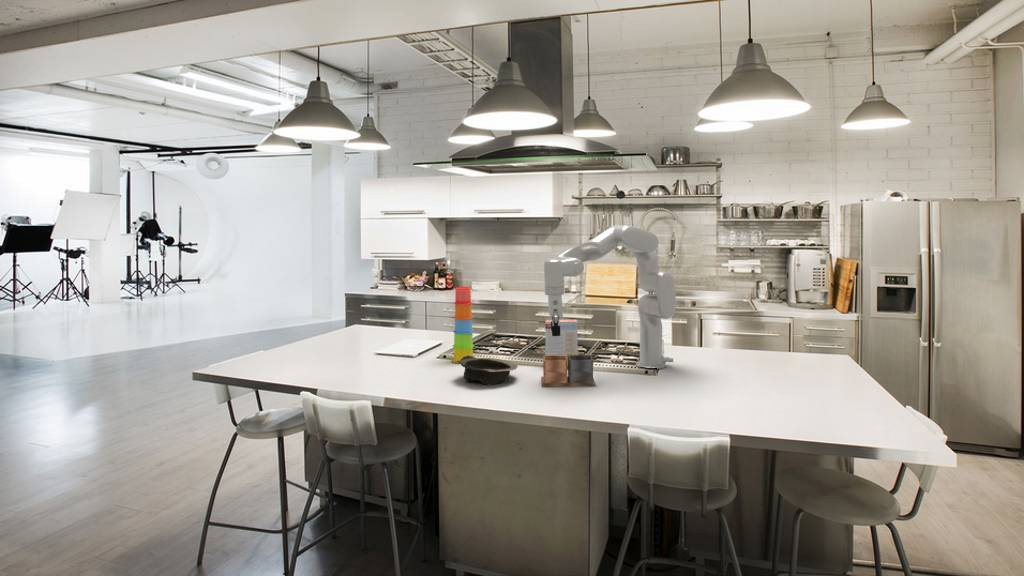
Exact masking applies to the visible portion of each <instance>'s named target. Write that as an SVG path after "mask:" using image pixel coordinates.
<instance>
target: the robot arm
mask: <svg viewBox="0 0 1024 576" xmlns="http://www.w3.org/2000/svg"><path fill="white" fill-rule="evenodd" d="M659 244H660V243H659V238H658V236H657V235H656V234H655V233H654V232H651V231H648V230H645V229H642V228H639V227H637V226H633V225H629V224H626V225H625V224H617V225H612V226H609V227H608V228H607V229H605V230H604V231H602V232H600V233H599V234H597V235H596V236H594V237H593V238H591V239H590V240H588V241H585V242H583V243H581V244H578V245H576V246H574V247H572V248H568V250H566V251H565V252H563V253H561V254H560V255H558V256H557V257H556V258H549V259H546V260H544V262H543V273H544V295H545V296H547V300H548V301H547V302H548V314H549V320H551V331H552V336H560V323H559V320H564V315H563V298H562V296H563V295H565V277H571V278H572V277H573V278H575V277H578V276H581V274H582V273H583V272H584V269H585V265H584V263H585V262H592V261H596V260H601V259H602V258H603V257H605V256H606V255H608V254H609V253H611V252H612V251H614V250H615V249H616V248H618V247H620V246H622V247H624V248H625V249H626V250H627V251H629V253H631V254H632V255H633V256H634V257H635V259H636V262H637V270H638V271H637V272H638V282H639V287H640V289H641V290H643V291H645V292H649V293H650V294H649V293H648V294H644V295H642V296H641V297H640V298H639V300H638V302H637V310H638V315H639V316H638V317H639V361H638V360H637V361H636V364H635V366H636V365H637V367H638V366H640V367H649V366H651V367H655V368H657V369H658V370H659V369H664V368H666V365H667V364H666V363H674V357H669V356H665V357H664V355H663V322H662V320H661V319H663V320H668V319H672V317H673V316H675V314H676V312H677V311H676V310H677V299H676V298H677V297H676V296H677V295H676V284H675V279H674V277H673V275H672V274H671V273H670V272H669V271H665V270H660V268H659V263H658V257H657V253H656V250H657V249H658V247H659ZM652 293H653V294H652ZM655 293H656V294H655ZM640 367H639V368H640ZM657 369H656V370H657Z"/></svg>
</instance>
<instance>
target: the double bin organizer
mask: <svg viewBox="0 0 1024 576" xmlns="http://www.w3.org/2000/svg"><path fill="white" fill-rule="evenodd" d="M542 361H543V362H542V366H543V367H542V368H543V369H542V371H543V372H542V373H543V375H542V376H540V381H541V382H540V383H541V387H542V388H553V387H554V388H555V387H556V388H558V387H559V388H562V387H565V388H566V387H569V388H570V387H571V388H573V387H575V388H577V387H580V388H582V387H597V384H596V380H595V378H594V360H593V357H592V355H591V354H578V355H568V368H567V357H566V355H546V354H545V355H542Z"/></svg>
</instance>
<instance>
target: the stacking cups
mask: <svg viewBox="0 0 1024 576" xmlns="http://www.w3.org/2000/svg"><path fill="white" fill-rule="evenodd" d="M454 291H455V298H454V300H455V301H454V302H453V303H454V316H453V319H454V330H453V331H452V332H453V333H454V334H453V335H454V337H453V338H454V339H453V343H454V344H453V345H452V347H453V358H452V362H453V363H454V364H459V363H458V362H456V361H460V360H461V359H462V358H463V357H464V356H468V355H469V356H473V357H474V352H473V351H474V347H475V345H474V343H473V333H474V330H473V318H474V316H473V314H472V304H473V302H472V295H471V294H472V292H471V288H470V287H469V286H457V287H456V288H455V290H454Z"/></svg>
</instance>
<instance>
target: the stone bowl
mask: <svg viewBox="0 0 1024 576" xmlns="http://www.w3.org/2000/svg"><path fill="white" fill-rule="evenodd" d="M456 362H458V363H457V364H460V365H461V367H463V368H464V372H463V379H464V381H466V382H476V381H480V382H481V384H482V385H485V384H487V386H489V385H488V384H491V385H493V384H494V385H497V383H498V384H500V383H502V382H506V380H507V379H508V377H509V375H510V373H511V371H515V370H517V368H518V367H519V366H518V364H517V363H515V362H512V361H508V360H504V359H500V358H495V357H494V358H492V357H480V358H477V357H475V356H474V355H473V356H469V355H468V356H464V357H463V358H462V359H461V360H460V361H456Z"/></svg>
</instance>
